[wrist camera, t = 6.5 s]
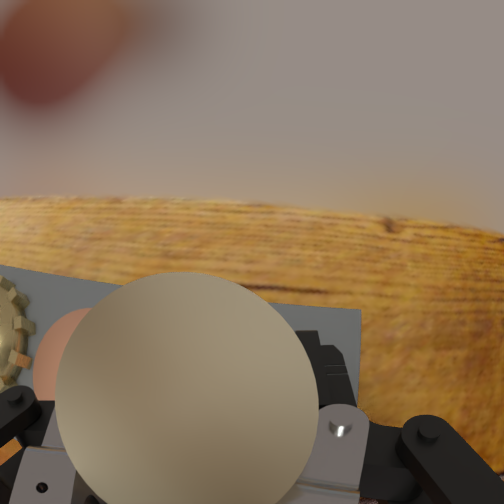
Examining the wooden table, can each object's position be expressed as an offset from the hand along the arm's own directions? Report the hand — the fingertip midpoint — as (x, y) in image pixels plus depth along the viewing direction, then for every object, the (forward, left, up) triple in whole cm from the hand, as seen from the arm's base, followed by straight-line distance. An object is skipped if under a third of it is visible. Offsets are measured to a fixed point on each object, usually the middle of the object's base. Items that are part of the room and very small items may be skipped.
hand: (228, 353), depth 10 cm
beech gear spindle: (+1, +1, -4) cm, 5 cm away
